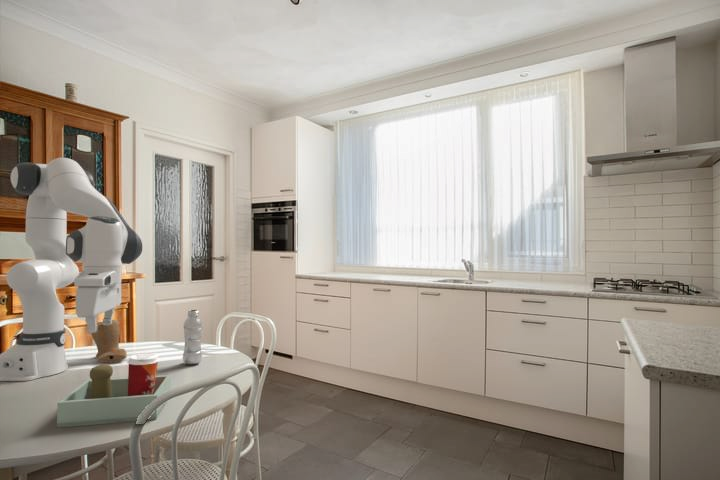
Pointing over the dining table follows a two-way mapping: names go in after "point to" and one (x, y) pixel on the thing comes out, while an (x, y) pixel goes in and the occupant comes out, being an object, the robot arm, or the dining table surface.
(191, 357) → the plastic bottle
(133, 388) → the paper cup
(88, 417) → the pale green tray
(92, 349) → the dining table surface
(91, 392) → the cork
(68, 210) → the robot arm
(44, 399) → the dining table surface
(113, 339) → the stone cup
